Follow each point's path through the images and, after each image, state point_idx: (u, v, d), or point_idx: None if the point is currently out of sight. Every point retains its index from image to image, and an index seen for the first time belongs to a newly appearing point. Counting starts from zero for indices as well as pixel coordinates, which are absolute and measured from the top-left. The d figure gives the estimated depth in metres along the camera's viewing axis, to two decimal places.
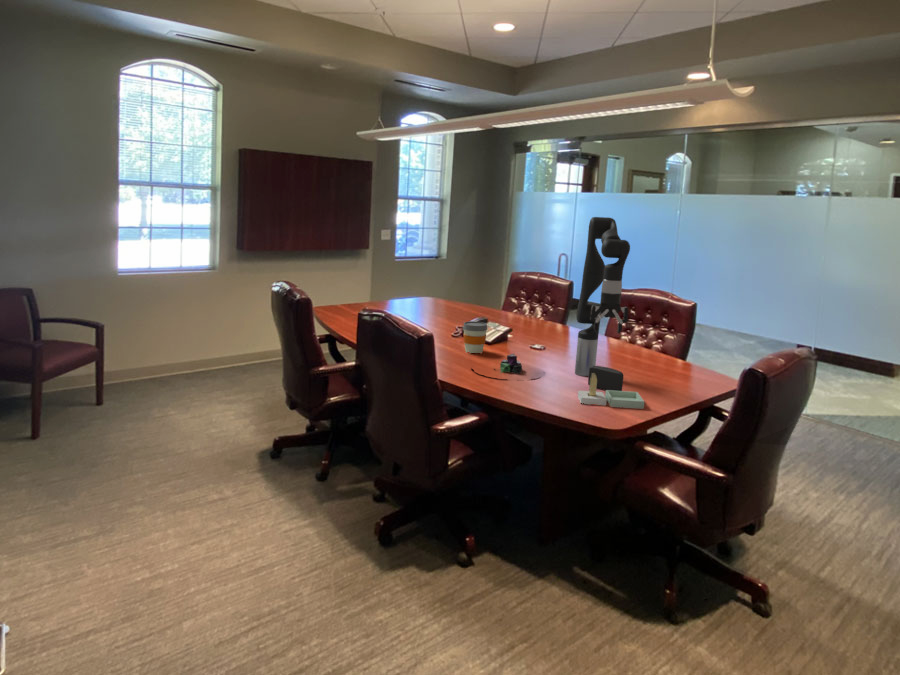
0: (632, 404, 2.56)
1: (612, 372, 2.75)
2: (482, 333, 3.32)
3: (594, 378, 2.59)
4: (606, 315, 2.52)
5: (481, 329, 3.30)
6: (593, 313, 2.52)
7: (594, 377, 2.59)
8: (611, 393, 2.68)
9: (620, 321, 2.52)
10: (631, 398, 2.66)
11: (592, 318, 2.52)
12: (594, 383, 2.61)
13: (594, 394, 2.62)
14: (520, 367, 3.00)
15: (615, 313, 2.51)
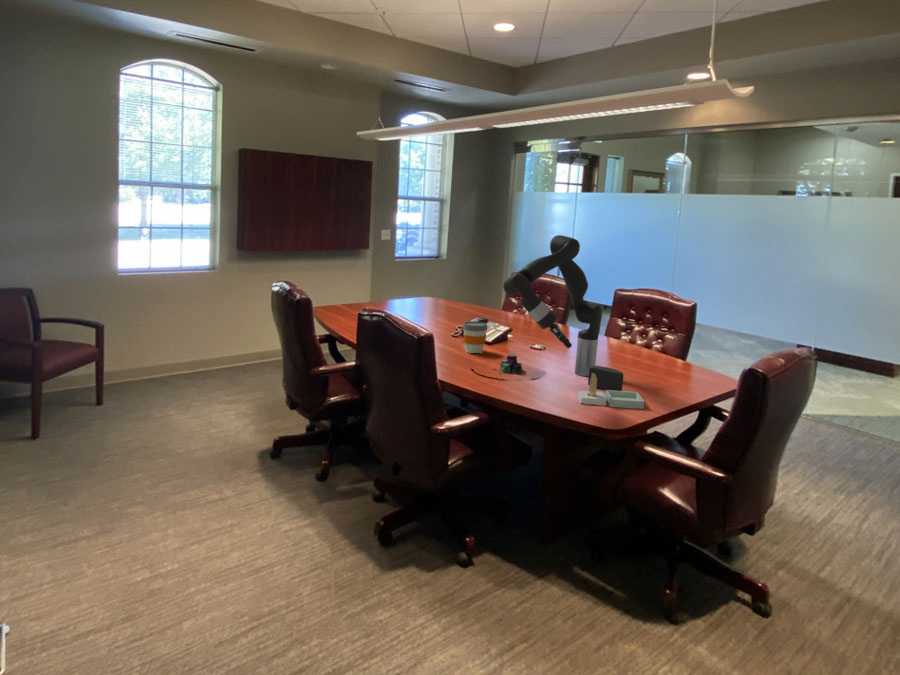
0: (632, 404, 2.56)
1: (612, 372, 2.75)
2: (482, 333, 3.32)
3: (594, 378, 2.59)
4: None
5: (481, 329, 3.30)
6: None
7: (594, 377, 2.59)
8: (611, 393, 2.68)
9: None
10: (631, 398, 2.66)
11: None
12: (594, 383, 2.61)
13: (594, 394, 2.62)
14: (520, 367, 3.00)
15: (553, 333, 2.56)
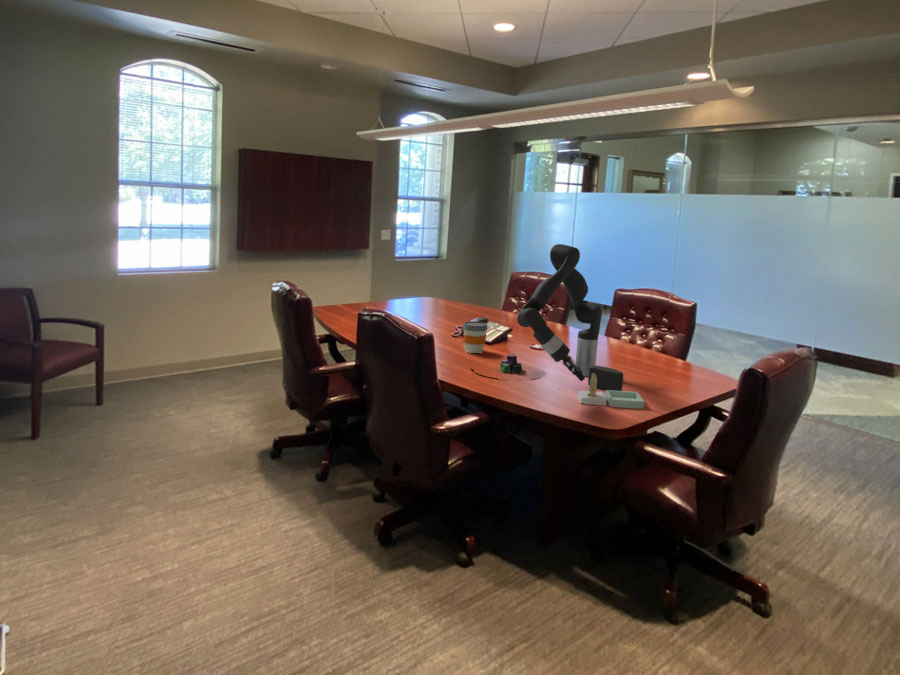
0: (632, 404, 2.56)
1: (612, 372, 2.75)
2: (482, 333, 3.32)
3: (594, 378, 2.59)
4: None
5: (481, 329, 3.30)
6: None
7: (594, 377, 2.59)
8: (611, 393, 2.68)
9: None
10: (631, 398, 2.66)
11: None
12: (594, 383, 2.61)
13: (594, 394, 2.62)
14: (520, 367, 3.00)
15: None
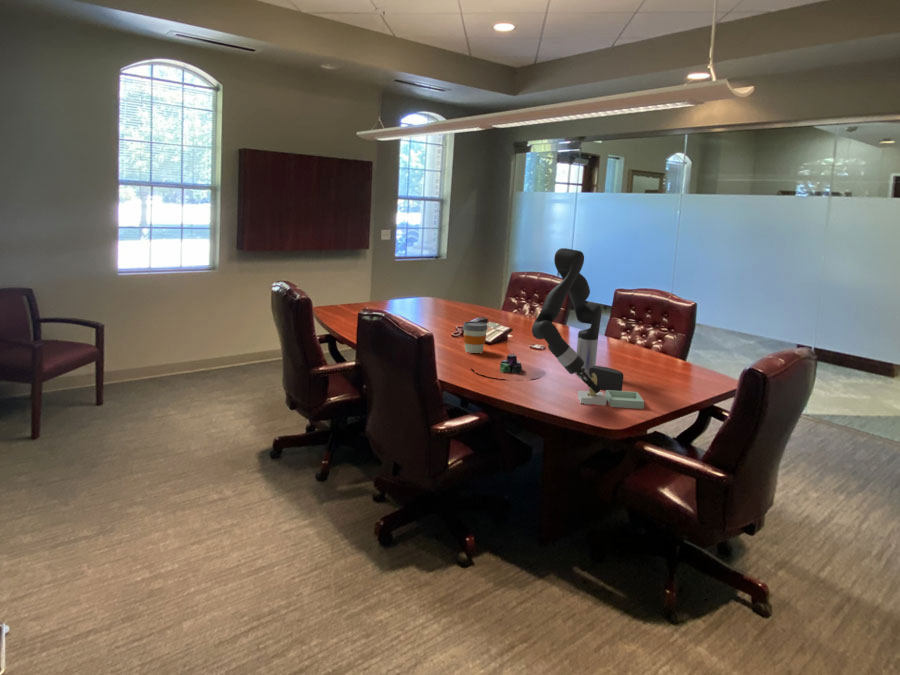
0: (632, 404, 2.56)
1: (612, 372, 2.75)
2: (482, 333, 3.32)
3: (594, 378, 2.59)
4: None
5: (481, 329, 3.30)
6: None
7: (594, 377, 2.59)
8: (611, 393, 2.68)
9: None
10: (631, 398, 2.66)
11: None
12: None
13: (594, 394, 2.62)
14: (520, 367, 3.00)
15: (580, 378, 2.60)
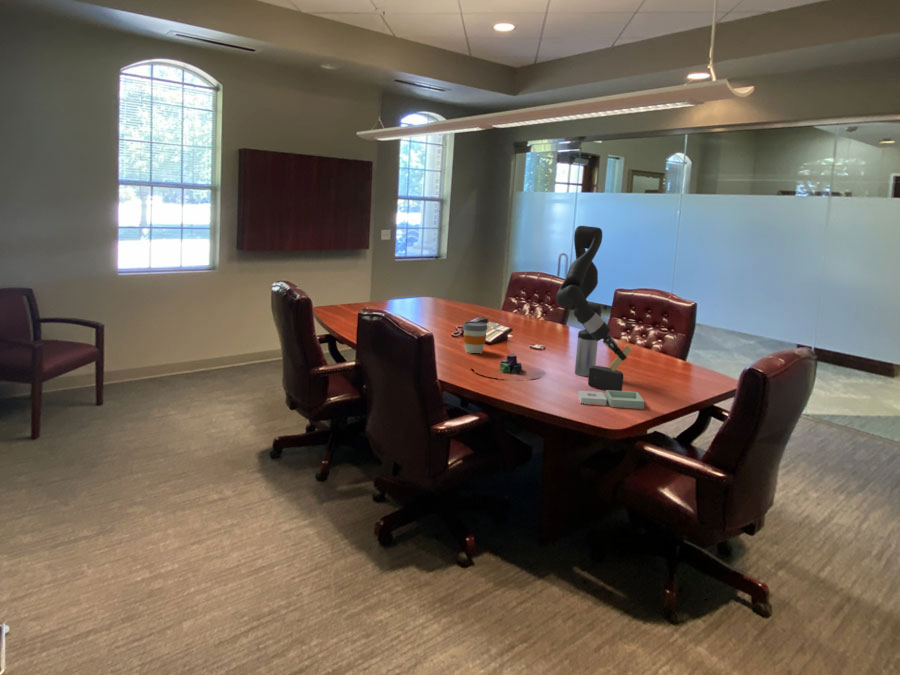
0: (632, 404, 2.56)
1: (612, 372, 2.75)
2: (482, 333, 3.32)
3: (628, 350, 2.56)
4: None
5: (481, 329, 3.30)
6: None
7: (629, 349, 2.56)
8: (611, 393, 2.68)
9: None
10: (631, 398, 2.66)
11: None
12: (625, 355, 2.57)
13: (618, 364, 2.59)
14: (520, 367, 3.00)
15: (606, 345, 2.57)
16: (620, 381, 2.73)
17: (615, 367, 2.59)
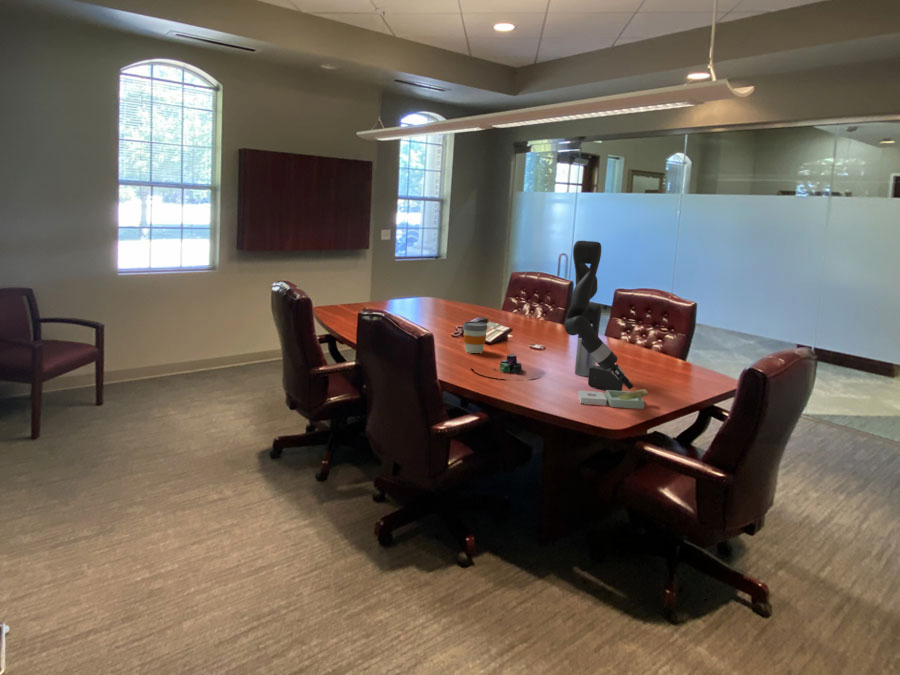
0: (632, 404, 2.56)
1: None
2: (482, 333, 3.32)
3: (645, 393, 2.59)
4: None
5: (481, 329, 3.30)
6: None
7: (646, 393, 2.59)
8: (611, 393, 2.68)
9: None
10: None
11: None
12: (639, 395, 2.61)
13: (627, 398, 2.61)
14: (520, 367, 3.00)
15: (613, 374, 2.59)
16: (620, 381, 2.73)
17: (624, 399, 2.61)
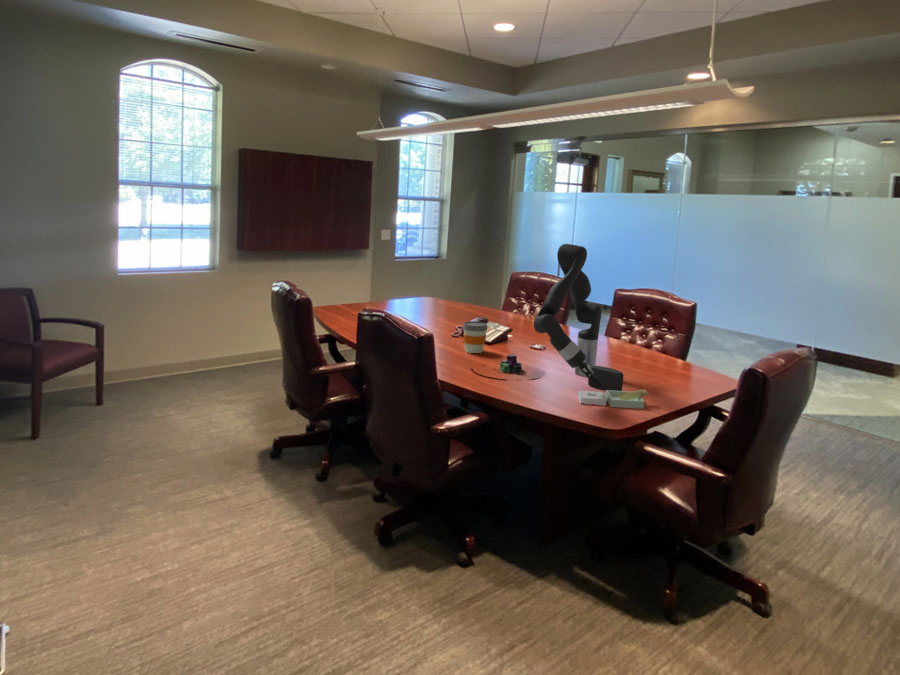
0: (632, 404, 2.56)
1: (612, 372, 2.75)
2: (482, 333, 3.32)
3: (645, 393, 2.59)
4: None
5: (481, 329, 3.30)
6: None
7: (646, 393, 2.59)
8: (611, 393, 2.68)
9: None
10: None
11: None
12: (639, 395, 2.61)
13: (627, 398, 2.61)
14: (520, 367, 3.00)
15: (582, 372, 2.59)
16: (620, 381, 2.73)
17: (624, 399, 2.61)
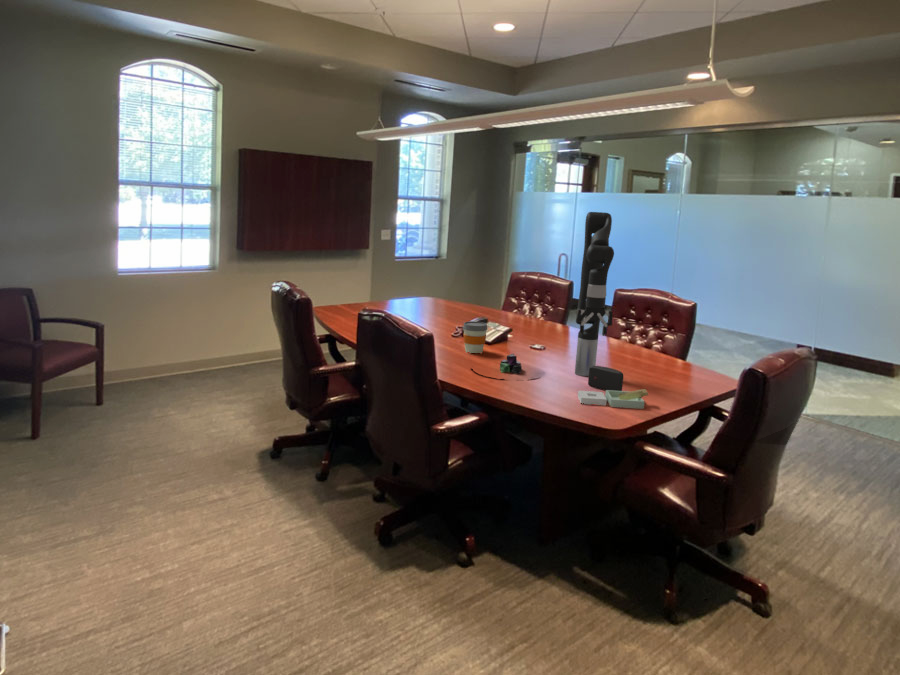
0: (632, 404, 2.56)
1: (612, 372, 2.75)
2: (482, 333, 3.32)
3: (645, 393, 2.59)
4: (591, 318, 2.61)
5: (481, 329, 3.30)
6: (579, 316, 2.61)
7: (646, 393, 2.59)
8: (611, 393, 2.68)
9: (605, 324, 2.61)
10: None
11: (578, 321, 2.62)
12: (639, 395, 2.61)
13: (627, 398, 2.61)
14: (520, 367, 3.00)
15: (600, 316, 2.60)
16: (620, 381, 2.73)
17: (624, 399, 2.61)
